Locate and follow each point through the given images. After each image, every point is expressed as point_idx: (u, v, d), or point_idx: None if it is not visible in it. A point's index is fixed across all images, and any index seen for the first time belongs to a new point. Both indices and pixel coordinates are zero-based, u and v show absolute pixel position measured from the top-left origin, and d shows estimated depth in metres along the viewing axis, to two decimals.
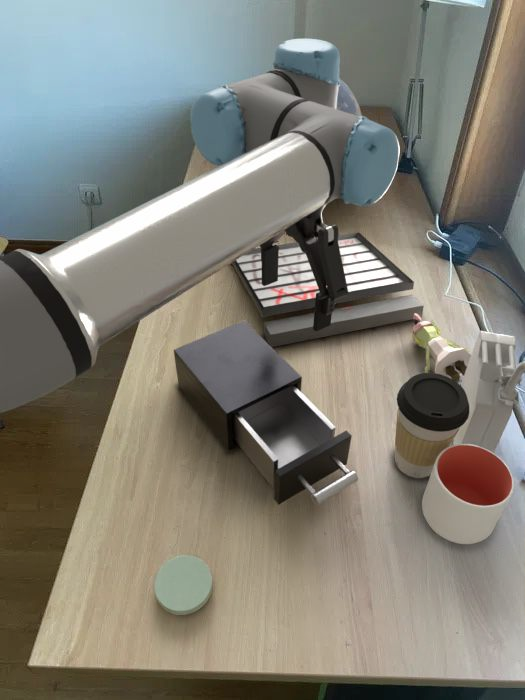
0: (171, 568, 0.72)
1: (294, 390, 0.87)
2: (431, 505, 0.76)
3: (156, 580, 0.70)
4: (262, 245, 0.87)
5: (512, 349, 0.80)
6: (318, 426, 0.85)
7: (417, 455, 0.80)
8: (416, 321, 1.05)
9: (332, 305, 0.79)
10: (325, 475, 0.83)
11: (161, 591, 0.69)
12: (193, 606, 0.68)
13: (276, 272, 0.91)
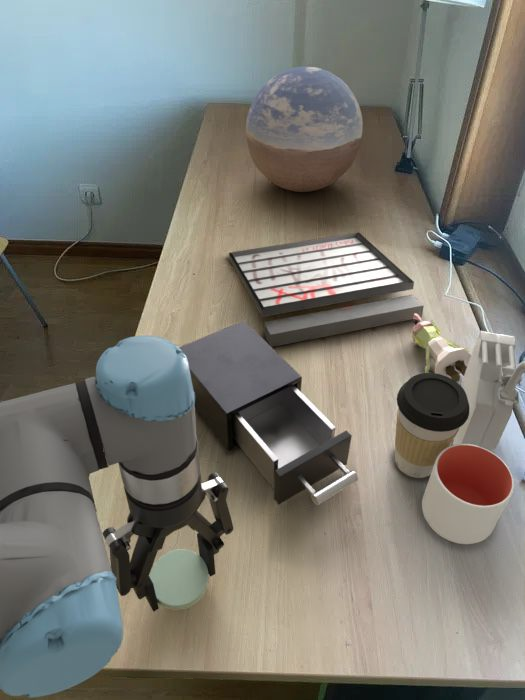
0: (166, 562, 0.70)
1: (294, 390, 0.87)
2: (431, 505, 0.76)
3: (151, 574, 0.69)
4: (145, 582, 0.63)
5: (512, 349, 0.80)
6: (318, 426, 0.85)
7: (417, 455, 0.80)
8: (416, 321, 1.05)
9: None
10: (325, 475, 0.83)
11: (156, 586, 0.68)
12: (189, 601, 0.67)
13: None
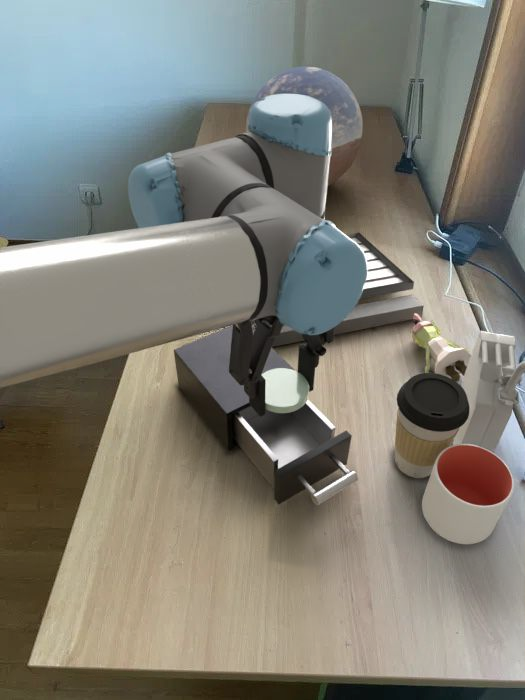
0: (269, 377, 0.76)
1: None
2: (431, 505, 0.76)
3: None
4: (259, 376, 0.68)
5: (512, 349, 0.80)
6: (318, 426, 0.85)
7: (417, 455, 0.80)
8: (416, 321, 1.05)
9: None
10: (325, 475, 0.83)
11: None
12: (294, 403, 0.72)
13: None
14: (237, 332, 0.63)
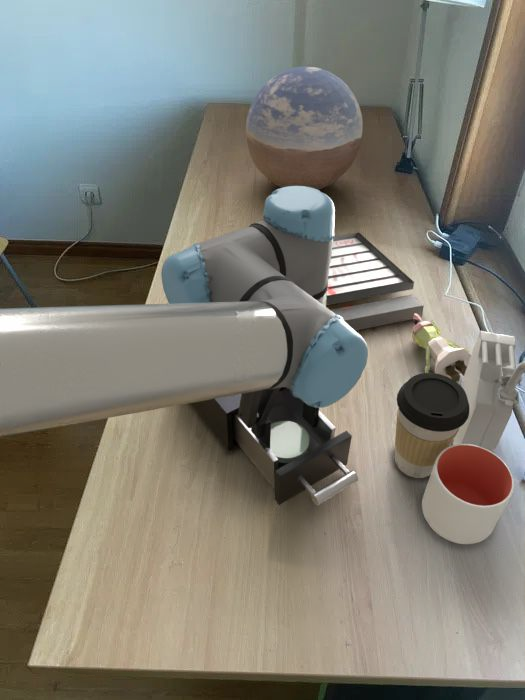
0: (274, 429, 0.86)
1: None
2: (431, 505, 0.76)
3: None
4: (265, 419, 0.76)
5: (512, 349, 0.80)
6: (318, 426, 0.85)
7: (417, 455, 0.80)
8: (416, 321, 1.05)
9: None
10: (325, 475, 0.83)
11: None
12: (296, 455, 0.82)
13: None
14: None
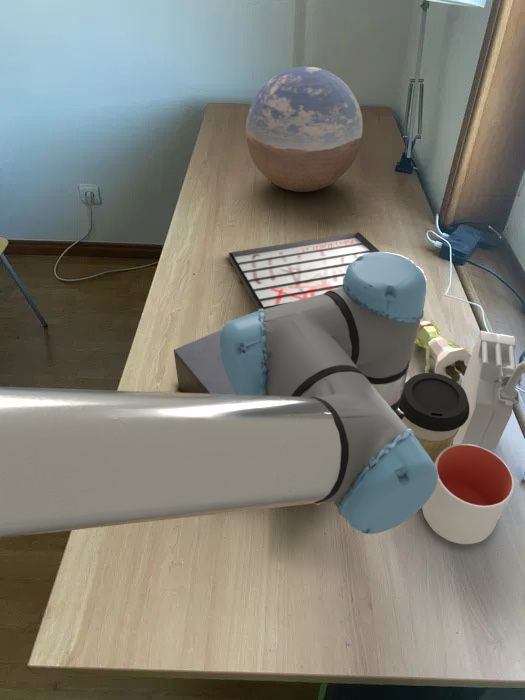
0: None
1: None
2: (431, 505, 0.76)
3: None
4: None
5: (512, 349, 0.80)
6: None
7: None
8: None
9: None
10: None
11: None
12: None
13: None
14: None
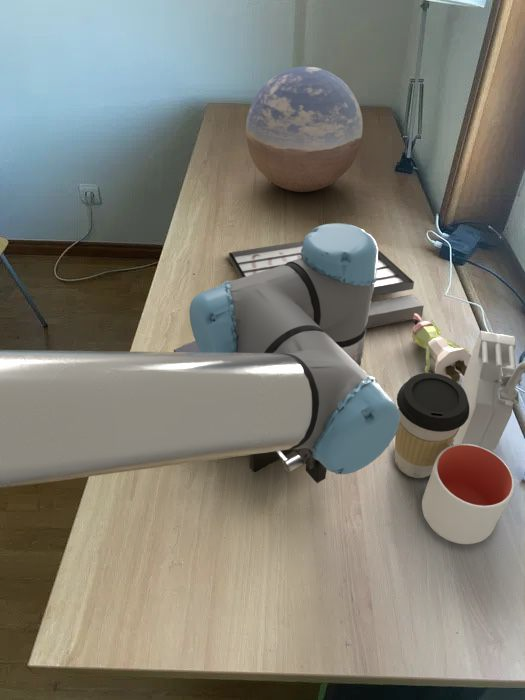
0: None
1: None
2: (431, 505, 0.76)
3: None
4: None
5: (512, 349, 0.80)
6: None
7: (417, 455, 0.80)
8: (416, 321, 1.05)
9: None
10: None
11: None
12: None
13: None
14: None
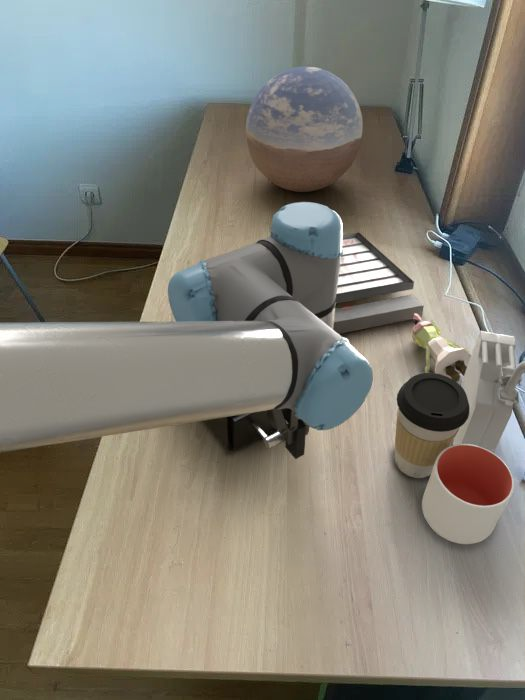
0: None
1: None
2: (431, 505, 0.76)
3: None
4: (296, 425, 0.78)
5: (512, 349, 0.80)
6: None
7: (417, 455, 0.80)
8: (416, 321, 1.05)
9: None
10: None
11: None
12: None
13: None
14: None
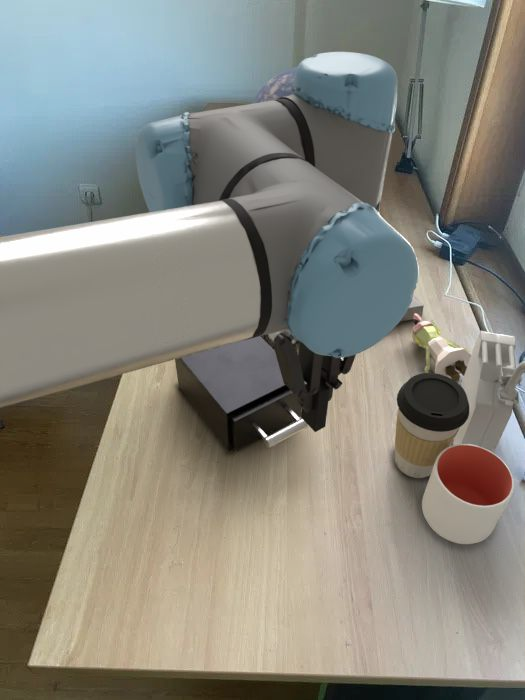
0: None
1: None
2: (431, 505, 0.76)
3: None
4: (317, 386, 0.60)
5: (512, 349, 0.80)
6: None
7: (417, 455, 0.80)
8: (416, 321, 1.05)
9: None
10: (280, 425, 0.90)
11: None
12: None
13: None
14: (278, 348, 0.54)
